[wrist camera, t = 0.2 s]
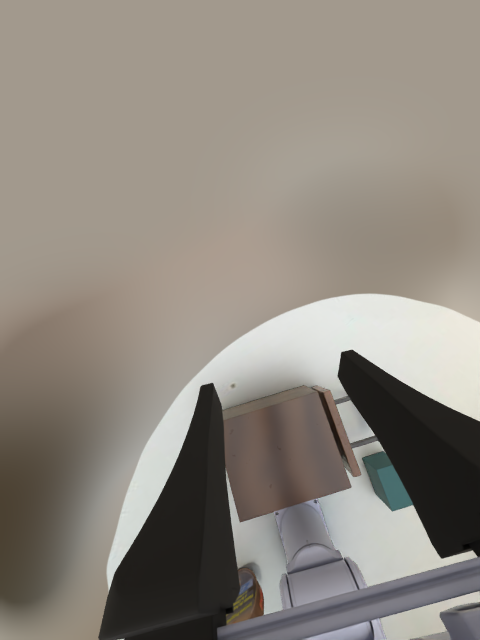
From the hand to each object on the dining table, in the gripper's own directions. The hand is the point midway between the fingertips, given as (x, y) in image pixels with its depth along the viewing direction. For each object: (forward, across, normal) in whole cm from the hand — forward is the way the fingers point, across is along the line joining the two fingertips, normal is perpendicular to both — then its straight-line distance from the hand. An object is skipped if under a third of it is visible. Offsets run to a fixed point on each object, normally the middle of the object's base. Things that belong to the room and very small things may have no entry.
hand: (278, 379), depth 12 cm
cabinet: (+12, -1, +31) cm, 34 cm away
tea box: (+4, -17, +38) cm, 42 cm away
